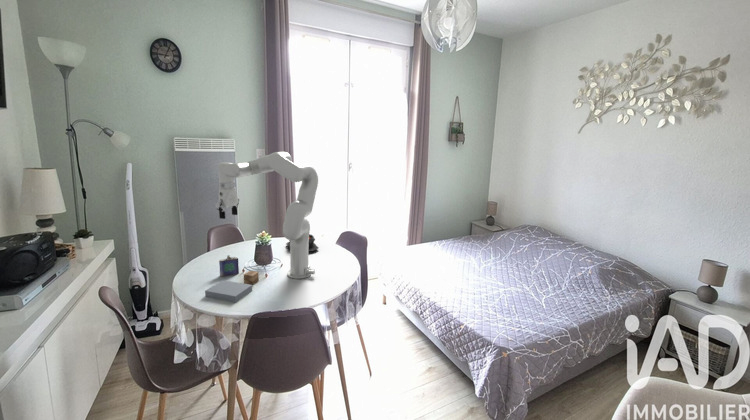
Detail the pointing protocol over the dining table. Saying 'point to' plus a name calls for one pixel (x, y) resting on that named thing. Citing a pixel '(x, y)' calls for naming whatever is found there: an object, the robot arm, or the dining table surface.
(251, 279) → the walnut cube
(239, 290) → the block
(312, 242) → the casserole
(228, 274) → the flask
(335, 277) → the dining table surface
